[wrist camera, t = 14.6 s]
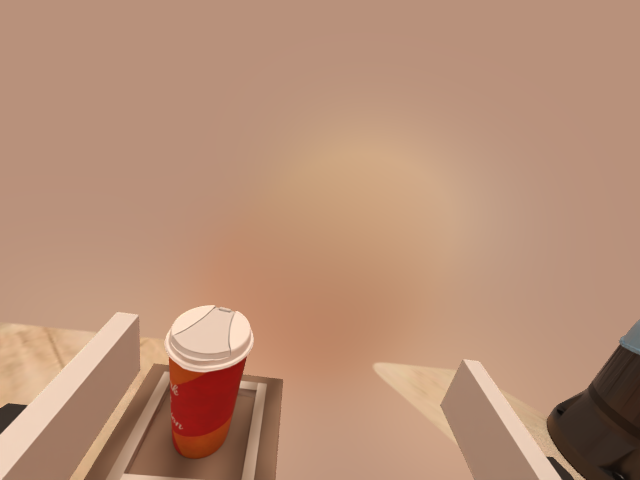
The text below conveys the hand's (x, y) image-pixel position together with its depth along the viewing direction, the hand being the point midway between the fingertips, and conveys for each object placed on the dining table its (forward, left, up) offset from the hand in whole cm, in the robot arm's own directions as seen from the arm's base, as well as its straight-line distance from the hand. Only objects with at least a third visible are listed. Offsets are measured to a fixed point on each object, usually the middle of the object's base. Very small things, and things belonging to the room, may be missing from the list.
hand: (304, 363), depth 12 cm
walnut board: (+7, -15, -28) cm, 32 cm away
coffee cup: (+7, -15, -27) cm, 31 cm away
